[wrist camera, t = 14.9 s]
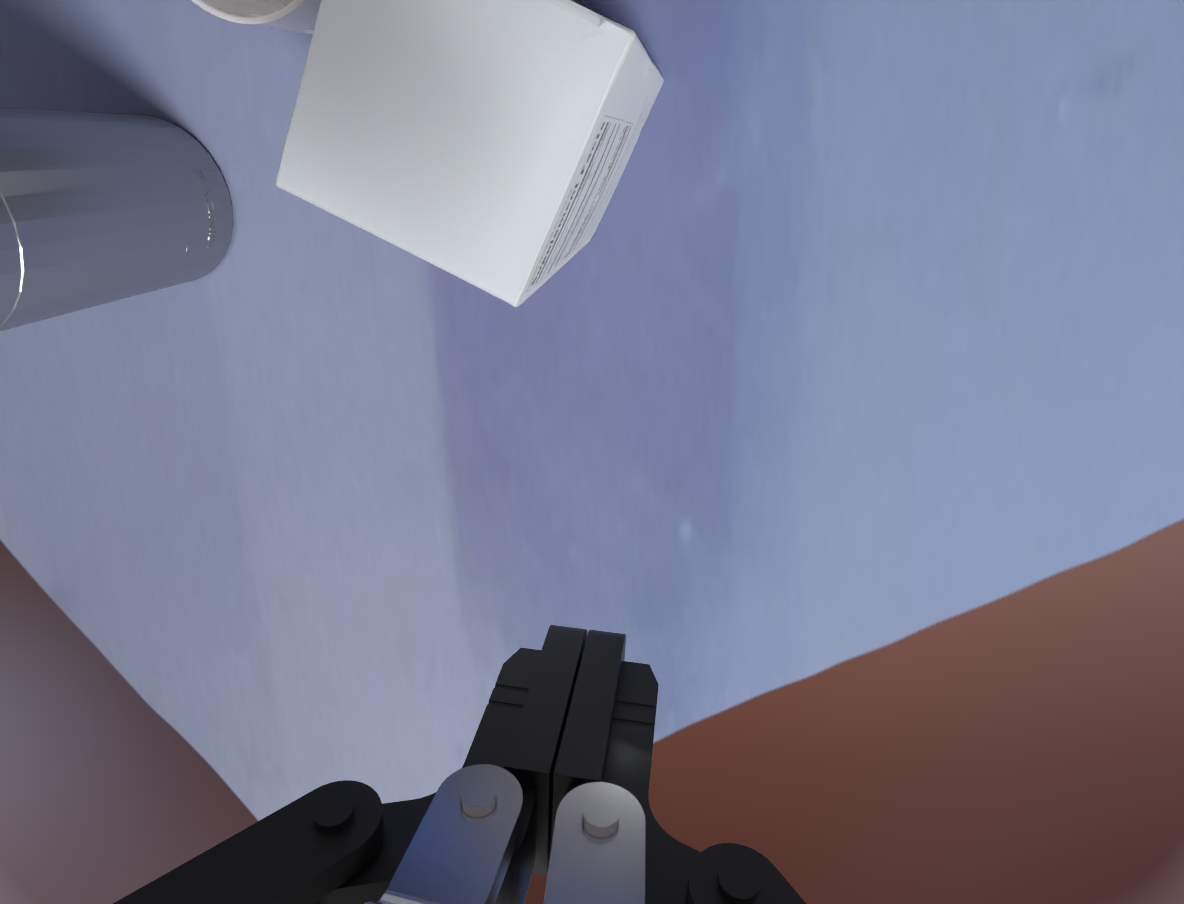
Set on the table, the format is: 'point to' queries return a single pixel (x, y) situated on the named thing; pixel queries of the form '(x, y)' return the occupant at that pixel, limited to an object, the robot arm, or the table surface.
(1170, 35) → the table surface
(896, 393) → the table surface
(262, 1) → the white cup
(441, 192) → the supplement box
